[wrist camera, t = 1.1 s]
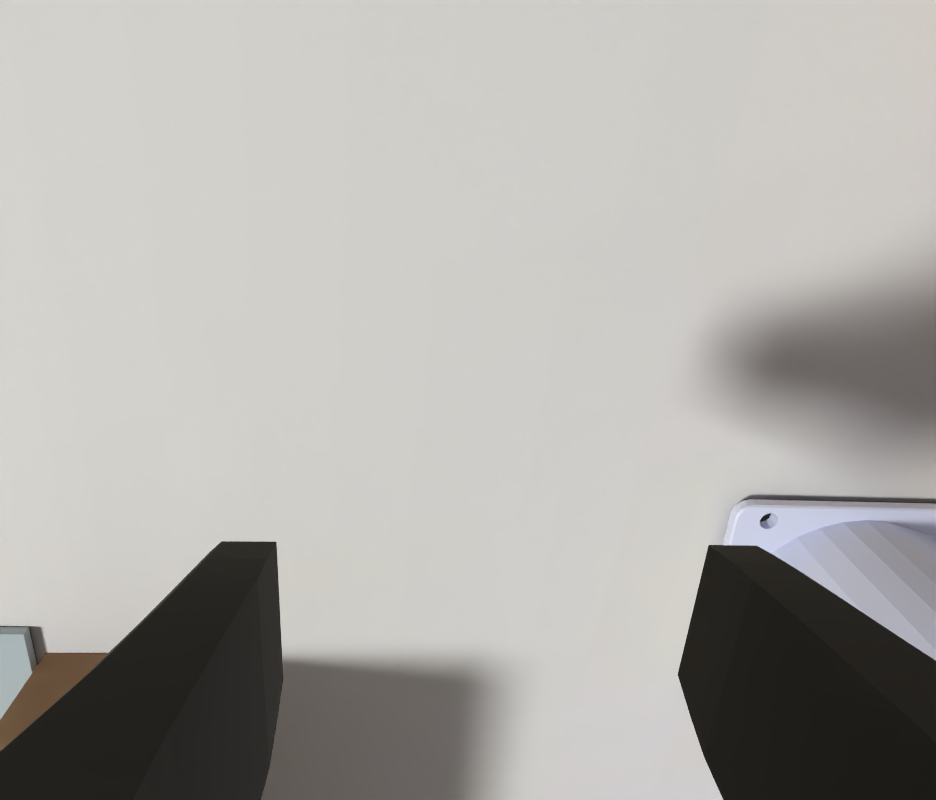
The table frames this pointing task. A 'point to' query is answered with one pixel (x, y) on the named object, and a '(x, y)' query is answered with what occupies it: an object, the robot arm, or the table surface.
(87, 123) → the table surface
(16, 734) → the tan wooden block
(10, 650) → the mat
